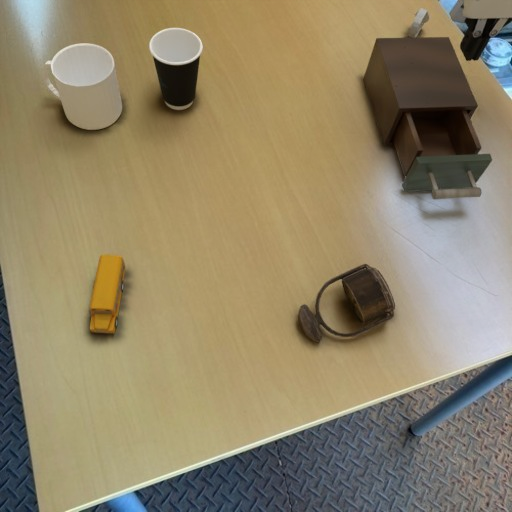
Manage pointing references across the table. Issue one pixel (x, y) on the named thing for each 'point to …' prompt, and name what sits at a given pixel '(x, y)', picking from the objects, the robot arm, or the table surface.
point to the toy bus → (107, 294)
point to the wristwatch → (418, 22)
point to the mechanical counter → (354, 302)
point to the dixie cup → (176, 65)
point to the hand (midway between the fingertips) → (468, 53)
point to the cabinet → (414, 80)
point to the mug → (85, 85)
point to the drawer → (440, 153)
